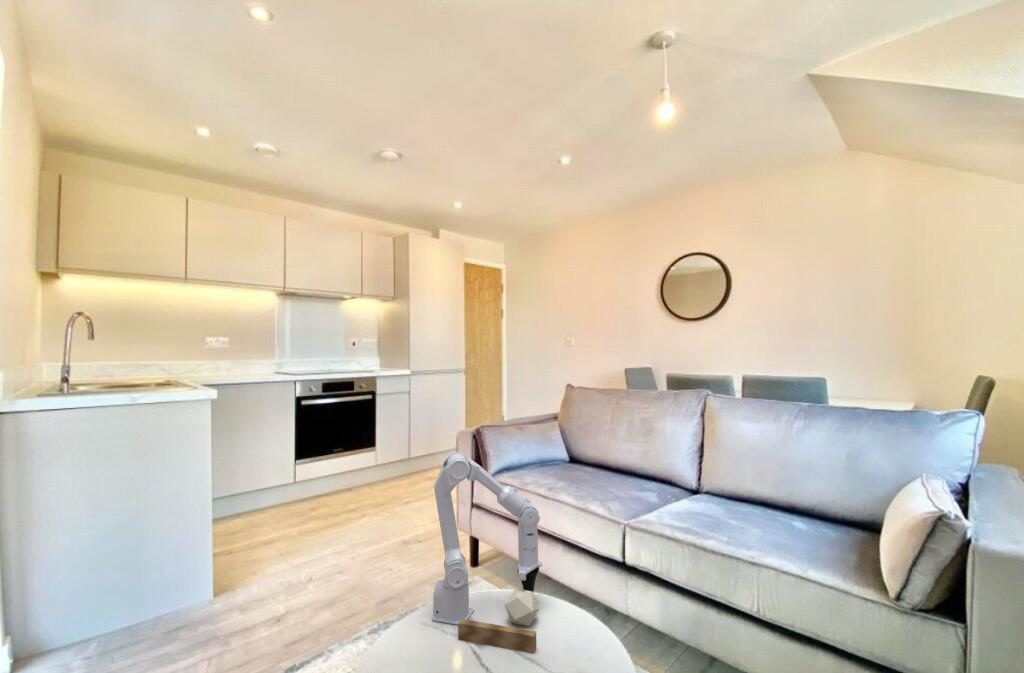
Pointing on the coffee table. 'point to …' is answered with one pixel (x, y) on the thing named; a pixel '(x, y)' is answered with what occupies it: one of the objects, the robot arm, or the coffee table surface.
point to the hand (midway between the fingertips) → (528, 594)
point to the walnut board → (497, 635)
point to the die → (521, 607)
